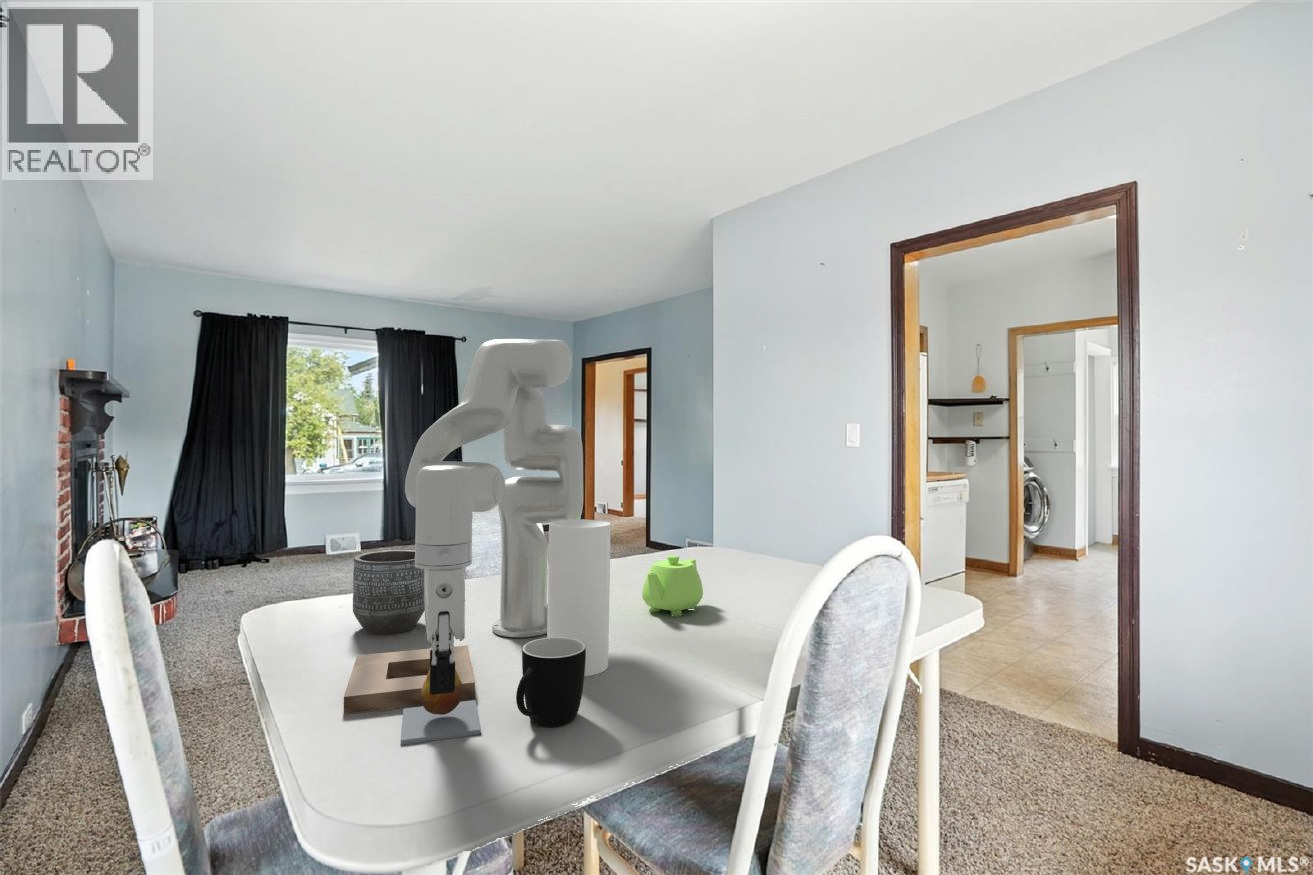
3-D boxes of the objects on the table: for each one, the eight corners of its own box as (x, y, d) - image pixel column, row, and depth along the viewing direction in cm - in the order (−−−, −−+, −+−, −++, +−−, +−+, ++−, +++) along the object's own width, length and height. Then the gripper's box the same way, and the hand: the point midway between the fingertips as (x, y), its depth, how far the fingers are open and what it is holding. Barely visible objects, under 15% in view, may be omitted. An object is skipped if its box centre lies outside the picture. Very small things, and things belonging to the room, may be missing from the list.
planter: (336, 632, 127) (337, 558, 127) (390, 614, 140) (391, 547, 140) (390, 642, 122) (391, 564, 122) (441, 622, 135) (442, 552, 135)
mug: (547, 699, 97) (549, 633, 97) (596, 713, 92) (598, 643, 92) (492, 731, 86) (493, 656, 86) (544, 747, 82) (545, 669, 82)
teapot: (673, 625, 136) (674, 566, 136) (623, 615, 143) (624, 559, 143) (717, 605, 153) (718, 553, 153) (670, 597, 160) (671, 547, 160)
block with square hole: (467, 659, 113) (467, 645, 113) (474, 698, 96) (474, 682, 96) (356, 670, 107) (357, 655, 107) (343, 714, 90) (343, 696, 90)
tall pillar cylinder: (617, 659, 114) (620, 521, 114) (592, 681, 104) (595, 529, 104) (564, 652, 118) (566, 517, 118) (535, 672, 108) (537, 525, 108)
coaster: (475, 704, 95) (475, 700, 95) (480, 733, 85) (480, 729, 85) (403, 712, 91) (403, 708, 91) (400, 744, 82) (400, 740, 82)
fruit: (450, 699, 92) (451, 617, 92) (469, 712, 88) (470, 626, 88) (412, 711, 88) (413, 624, 88) (431, 724, 84) (432, 634, 84)
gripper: (476, 565, 82) (474, 706, 82) (468, 542, 98) (466, 661, 98) (413, 568, 79) (411, 714, 79) (416, 545, 95) (414, 666, 95)
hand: (441, 683), depth 88 cm, fingers closed on fruit, 5 cm apart
